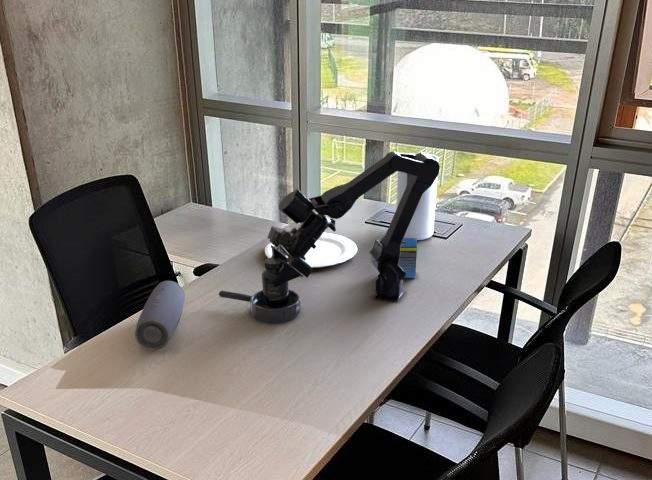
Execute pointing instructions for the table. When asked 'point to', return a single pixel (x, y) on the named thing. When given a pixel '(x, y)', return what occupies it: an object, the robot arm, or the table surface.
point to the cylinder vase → (419, 208)
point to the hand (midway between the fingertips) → (269, 280)
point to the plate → (326, 251)
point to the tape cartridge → (408, 257)
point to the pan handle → (235, 296)
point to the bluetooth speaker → (160, 315)
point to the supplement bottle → (270, 293)
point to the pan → (275, 309)
